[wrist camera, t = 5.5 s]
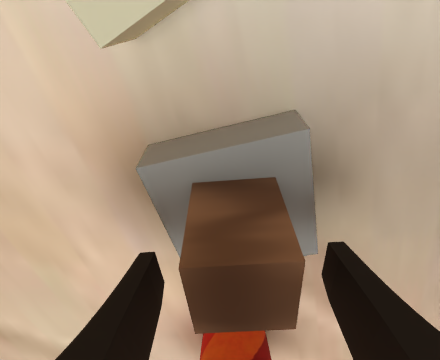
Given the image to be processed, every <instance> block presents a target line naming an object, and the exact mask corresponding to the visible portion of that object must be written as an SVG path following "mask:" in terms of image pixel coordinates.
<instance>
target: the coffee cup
mask: <svg viewBox="0 0 440 360" xmlns="http://www.w3.org/2000/svg"><path fill="white" fill-rule="evenodd" d="M200 360H271V356H270V351H269V346H268V341H267V337H266V333H265V331H244V332H222V333H203V339H202V347H201V355H200Z"/></svg>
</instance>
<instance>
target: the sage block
mask: <svg viewBox="0 0 440 360" xmlns="http://www.w3.org/2000/svg"><path fill="white" fill-rule="evenodd" d="M65 1H66V2H67V4H68V5H69V6H70V8H71V9H72V11H73V12H74V13H75V15H76V16H77V17H78V19H79V20H80V21H81V23H82V24H83V26H84V27H85V28H86V30H87V31H88V32H89V34H90V35H91V36H92V38H93V39H94V41H95V42H96V43H97V45H98V46H99V47H100V49H101V48H105V47H108V46H112V45H115V44H119V43H123V42H126V41H130V40H133V39H136V38H137V37H139V36H140V35H142V34H143V33H144V32H146V31H147V30H149V29H150V28H151V27H153V26H154V25H156V24H157V23H158V22H160V21H161V20H162V19H164V18H165V17H167V16H168V15H169V14H171V13H172V12H174V11H175V10H176V9H178V8H179V7H180V6H182V5H183V4H185V3H186V2H187V1H189V0H65Z"/></svg>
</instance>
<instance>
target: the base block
mask: <svg viewBox="0 0 440 360" xmlns="http://www.w3.org/2000/svg"><path fill="white" fill-rule="evenodd" d="M136 170H137V172H138V174H139V176H140V178H141V180H142V182H143V184H144V186H145V188H146V190H147V192H148V194H149V196H150V198H151V200H152V202H153V204H154V206H155V208H156V210H157V212H158V214H159V216H160V218H161V220H162V222H163V224H164V226H165V228H166V230H167V232H168V234H169V236H170V238H171V240H172V243H173V245H174V247H175V249H176V251H177V253H178V255H179V257H181V250H182V244H183V238H184V232H185V225H186V219H187V213H188V207H189V200H190V194H191V188H192V183H198V182H212V181H226V180H240V179H255V178H269V177H276V180H277V183H278V185H279V188H280V191H281V194H282V197H283V200H284V202H285V205H286V208H287V211H288V214H289V217H290V219H291V222H292V225H293V228H294V231H295V234H296V236H297V239H298V242H299V245H300V248H301V251H302V253H303V256H307V255H313V254H318V245H317V230H316V215H315V201H314V186H313V171H312V156H311V141H310V128H309V127H308V126H307V125H306V123H305V122H304V121H303V119H302V118H301V117H300V116H299V114H298V113H297V112H296V110H293V111H289V112H284V113H280V114H276V115H272V116H268V117H263V118H259V119H255V120H251V121H247V122H243V123H238V124H234V125H230V126H226V127H222V128H217V129H213V130H209V131H205V132H201V133H196V134H192V135H188V136H184V137H180V138H175V139H171V140H167V141H163V142H159V143H155V144H150V145H148V147H147V148H146V150H145V152H144V154H143V156H142V158H141V159H140V161H139V163H138V165H137V167H136Z"/></svg>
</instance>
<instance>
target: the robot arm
mask: <svg viewBox="0 0 440 360" xmlns="http://www.w3.org/2000/svg"><path fill="white" fill-rule="evenodd" d="M322 278H323V282H324V285H325V289H326V292H327V296H328V299H329V302H330V304H331V307H332V309H333V311H334V314H335V316H336V319H337V321H338V324H339V326H340V328H341V331H342V333H343V336H344V338H345V341H346V343H347V345H348V348H349V350H350V353H351V355H352V357H353V360H440V331H438V330H437V329H436V328H435V327H433V326H432V325H431V324H430V323H429V322H427V321H426V320H425V319H424V318H423V317H422V316H420V315H419V314H418V313H417V312H416V311H415V310H413V309H412V308H411V307H410V306H409V305H408V304H407V303H406V302H404V301H403V300H402V299H401V298H400V297H399V296H398V295H397V294H396V293H395V292H394V291H392V290H391V289H390V288H389V287H388V286H387V285H386V284H385V283H384V282H383V281H382V280H381V279H380V278H379V277H378V276H377V275H376V274H375V273H374V272H373V271H372V270H371V269H370V268H369V267H368V266H367V265H366V264H365V263H364V262H363V261H362V260H361V259H360V258H359V257H358V256H357V255H356V254H355V253H354V252H353V251H352V250H351V249H350V248H349V247H348V246H347V245H346V244H345V243H344V242H329V243H328V246H327V251H326V256H325V261H324V265H323V270H322ZM163 290H164V280H163V276H162V273H161V270H160V267H159V264H158V261H157V258H156V254H155V252H145V253H140V254H139V255H138V256H137V258H136V259H135V261H134V262H133V264H132V265H131V267H130V268H129V270H128V271H127V272H126V274H125V275H124V277H123V278H122V280H121V281H120V282H119V284H118V285H117V286H116V288H115V289H114V290H113V292H112V293H111V295H110V296H109V297H108V299H107V300H106V301H105V303H104V304H103V305H102V306H101V308H100V309H99V310H98V311H97V313H96V314H95V315H94V316H93V318H92V319H91V320H90V321H89V322H88V324H87V325H86V326H85V327H84V328H83V330H82V331H81V332H80V333H79V334H78V335H77V337H76V338H75V339H74V340H73V341H72V342H71V343H70V344H69V345H68V347H67V348H66V349H65V350H64V351H63V352H62V353H61V354H60V355H59V356H58V357H57V358H56V359H55V360H149V356H150V352H151V348H152V344H153V340H154V336H155V332H156V327H157V323H158V319H159V315H160V310H161V305H162V298H163Z"/></svg>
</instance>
